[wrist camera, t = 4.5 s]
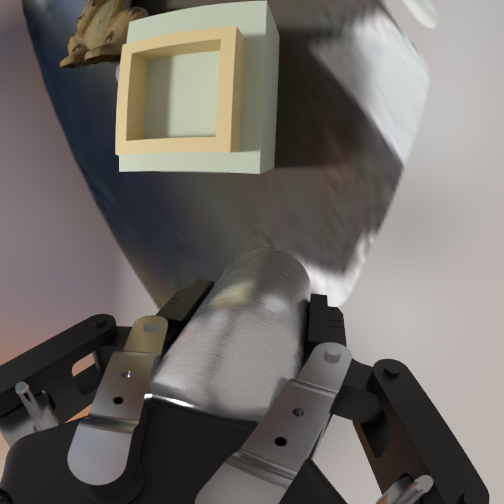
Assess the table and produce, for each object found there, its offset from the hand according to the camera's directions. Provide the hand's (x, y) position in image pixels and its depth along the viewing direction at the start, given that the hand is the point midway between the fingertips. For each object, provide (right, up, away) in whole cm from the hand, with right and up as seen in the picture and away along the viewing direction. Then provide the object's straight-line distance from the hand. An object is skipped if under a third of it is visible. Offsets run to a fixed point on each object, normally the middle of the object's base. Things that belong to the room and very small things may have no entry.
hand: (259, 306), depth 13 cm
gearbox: (-5, +18, +14) cm, 23 cm away
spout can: (0, +1, +2) cm, 2 cm away
